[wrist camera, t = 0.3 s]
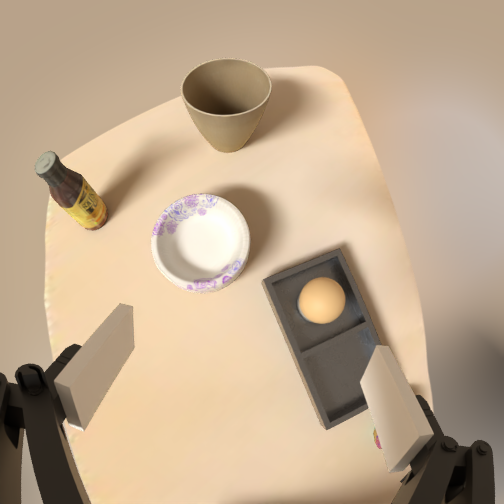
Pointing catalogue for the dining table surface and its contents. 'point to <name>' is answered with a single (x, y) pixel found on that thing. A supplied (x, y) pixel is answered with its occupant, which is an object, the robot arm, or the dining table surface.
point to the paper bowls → (201, 243)
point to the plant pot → (226, 100)
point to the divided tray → (326, 338)
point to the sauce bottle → (72, 192)
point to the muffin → (321, 300)
